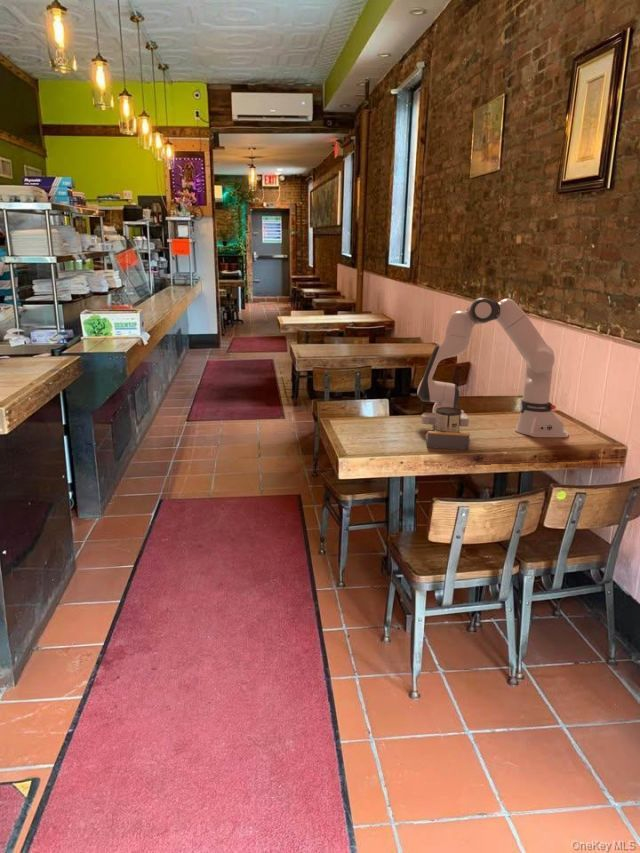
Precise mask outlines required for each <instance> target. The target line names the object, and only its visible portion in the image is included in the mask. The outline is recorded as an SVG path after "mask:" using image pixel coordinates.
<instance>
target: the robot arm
mask: <svg viewBox="0 0 640 853" xmlns="http://www.w3.org/2000/svg"><path fill="white" fill-rule="evenodd" d="M492 321H496V322H497V323H498V324H499V325H500V327H501V328H502V329H503V330H504V332H505V334H507V336H508V337H509V339H510V340H511V342H512V343H513V345H514V346H515V347H516V349H517V351H518V352H519V354H520V355H521V357H522V358H523V359H524V360H523V361H524V362H525V363H526V365H525V366H526V367H525V374H524V375H525V376H524V385H523V393H522V398H521V400H520V406H519V412H520V413H519V418H518V421H517V423H516V427H515V431H516V432H517V433H519V434H523V435H525V436H530V437H533V438H568V437H569V432H568V431H567V430H566V429H564V422H563V420H562V419H561V418H560V417H559V416H558V414H556V413H555V412H554V411H553V410H556V408H557V407H556V405H555V404H553V403H551V402H550V393H551V387H552V386H551V385H552V376H553V375H552V374H553V367H554V364H555V361H556V360H555V359H556V358H555V354H554V351H553V349H552V347H551V346H550V345H548V344H547V342H546V341H545V340H544V338H543V336H542V335H541V333H539V331H538V329H537V328H536V326H535V325H534V324H533V322H532V321H531V320H530V318H529V316H528V315H527V314H526V313H525V312H524V310H523V309H522V308H521V306H519V305H518V303H517V302H516V301H515V300H514V299H511V298H503V299H501V300H499V301H498V302H497V301H495V300H493V299H491V298H488V297H478V298H475V299H474V300H473V301H472V302H471V304H470V306H469V307H468V308H467V309H466V310H457V311H454V312H453V313H451V315H450V318H449V320H448V322H447V325H446V328H445V329H446V330H445V334H444V338H443V339H442V341H441V342H440V343H439V344H436V346H435V347H434V349H433V351H432V353H431V356H430V358H429V361H428V363H427V366H426V368H425V371H424V374H423V376H422V378H421V381H420V382H419V385H418V387H417V390H416V391H417V393H416V394H417V397H418V398H419V399H420V400H421V401H422V402H426V403H427V402H429V403H433V404H434V405H433V407H432V412H423V413H422V414H420V416H419V418H420V419H421V424H423V425H433V426H435V420H436V409H437V408H440V407H451V408H457V406H458V403H459V401H460V400H459V399H460V390H459V388H458V386H457V385H456V384H455V383H452V382H445V381H438V380H434V379H433V377H434V374H435V372H436V369H437V366H438V364H439V363H440V362H441V361H443V360H445V359H449V358H454V357H458V356H459V355H460V356H461V355H462V354H464V353H465V352H466V351H467V349H468V348H469V345H470V341H471V335H472V330H473V328H474V326H475V325H479V324H482V325H483V324H486V323H489V322H492ZM460 410H461V417H460V427H465V428H467V427H469V423H470V417H469V415H468V414H466V413H465V411H464V410H462V409H460Z"/></svg>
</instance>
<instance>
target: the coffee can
mask: <svg viewBox="0 0 640 853" xmlns="http://www.w3.org/2000/svg"><path fill="white" fill-rule="evenodd" d="M461 410H462V409H459V408H457V407H455V408H451V407H440V408H437V409H436V420H435V425H434V432H450V433H460V427H461V426H460V417H461Z"/></svg>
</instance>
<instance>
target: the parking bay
mask: <svg viewBox="0 0 640 853" xmlns="http://www.w3.org/2000/svg"><path fill="white" fill-rule="evenodd" d="M425 442H426V448H427V447H437V448H436V449H441V448H448V449H447V450H457V449H462V450H461V451H468V450H469V444H470V433H468V432H467V433H464V432H459V433H450V432H435V431H432V430H431V431H430V430H429V431H427V432H426V433H425Z"/></svg>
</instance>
